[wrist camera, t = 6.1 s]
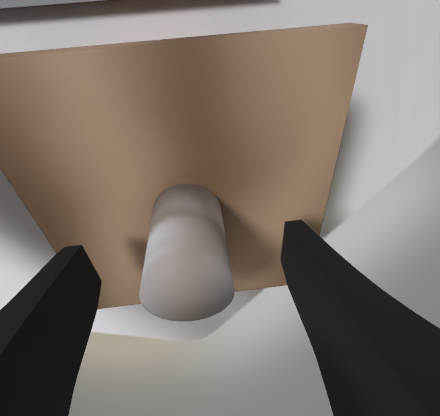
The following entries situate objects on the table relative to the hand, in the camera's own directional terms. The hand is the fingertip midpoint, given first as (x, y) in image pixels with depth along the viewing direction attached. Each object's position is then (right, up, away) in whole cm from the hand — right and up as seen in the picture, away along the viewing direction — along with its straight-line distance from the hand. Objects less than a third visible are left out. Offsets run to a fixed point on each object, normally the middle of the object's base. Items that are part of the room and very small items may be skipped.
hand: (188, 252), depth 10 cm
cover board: (0, +2, +2) cm, 3 cm away
